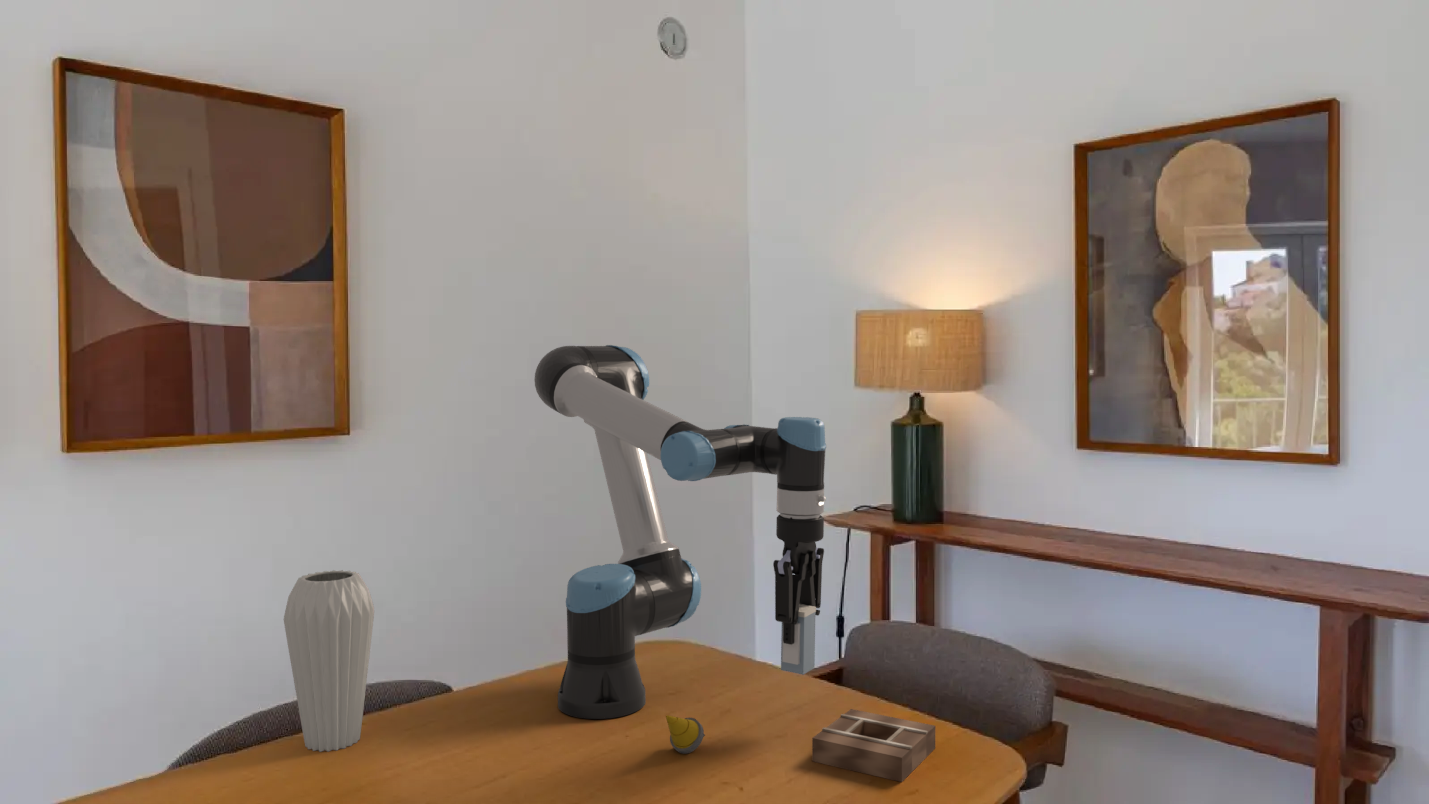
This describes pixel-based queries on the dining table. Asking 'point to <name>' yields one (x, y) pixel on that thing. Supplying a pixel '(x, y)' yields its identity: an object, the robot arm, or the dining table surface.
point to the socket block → (874, 744)
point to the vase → (330, 655)
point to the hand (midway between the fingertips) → (797, 658)
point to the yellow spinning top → (685, 733)
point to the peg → (803, 641)
